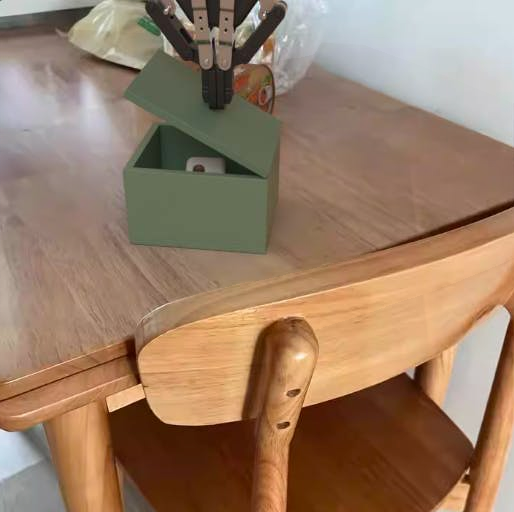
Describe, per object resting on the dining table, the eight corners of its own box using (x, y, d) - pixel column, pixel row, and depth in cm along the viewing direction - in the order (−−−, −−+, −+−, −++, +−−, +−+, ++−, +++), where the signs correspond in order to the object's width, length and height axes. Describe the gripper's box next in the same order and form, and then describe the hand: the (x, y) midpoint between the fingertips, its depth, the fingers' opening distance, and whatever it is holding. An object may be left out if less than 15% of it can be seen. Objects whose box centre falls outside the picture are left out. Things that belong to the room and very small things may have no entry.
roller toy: (231, 199, 79) (231, 147, 76) (229, 227, 74) (229, 173, 71) (190, 198, 79) (188, 147, 75) (185, 226, 74) (183, 172, 70)
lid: (122, 97, 64) (125, 89, 63) (155, 55, 74) (158, 48, 73) (265, 178, 67) (269, 171, 66) (279, 128, 77) (282, 121, 76)
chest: (129, 243, 73) (122, 170, 68) (158, 188, 83) (153, 121, 78) (265, 254, 71) (267, 180, 67) (278, 197, 81) (280, 129, 77)
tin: (218, 159, 89) (217, 90, 84) (197, 154, 90) (194, 85, 85) (276, 121, 100) (278, 57, 95) (256, 117, 101) (257, 53, 96)
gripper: (300, -109, 61) (290, 97, 72) (145, -114, 63) (159, 90, 73) (292, -98, 56) (283, 125, 66) (122, -104, 57) (140, 116, 67)
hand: (218, 106), depth 70 cm, fingers closed
